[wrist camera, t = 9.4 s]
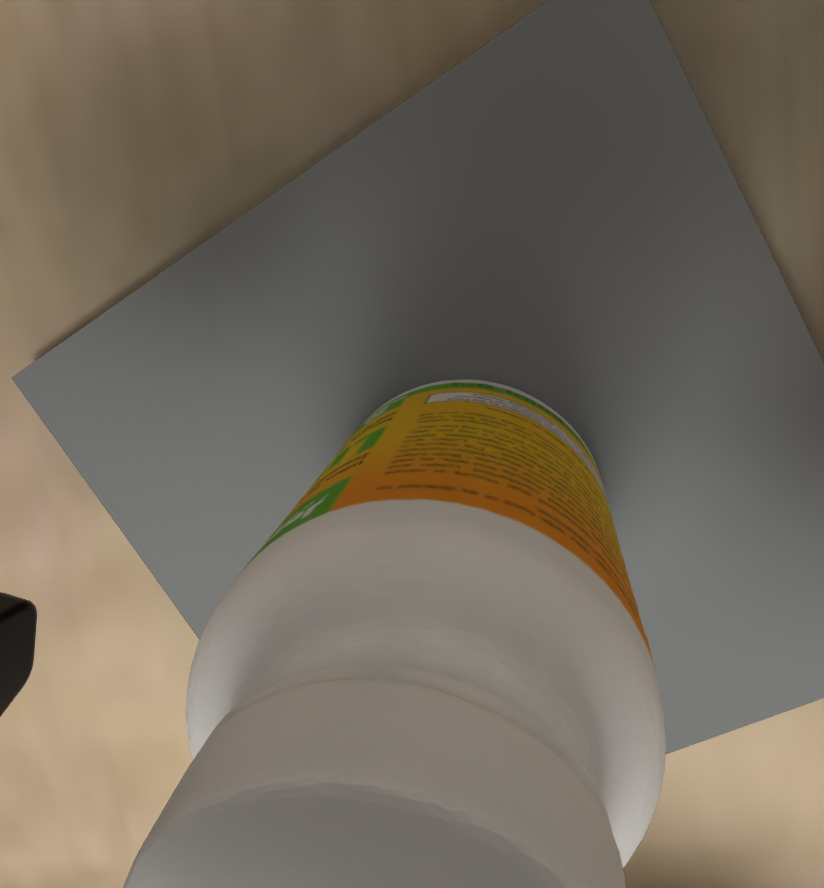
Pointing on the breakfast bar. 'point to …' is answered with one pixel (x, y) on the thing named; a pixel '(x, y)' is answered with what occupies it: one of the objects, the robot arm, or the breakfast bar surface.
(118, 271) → the breakfast bar surface
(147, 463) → the slate mat
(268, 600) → the supplement bottle
